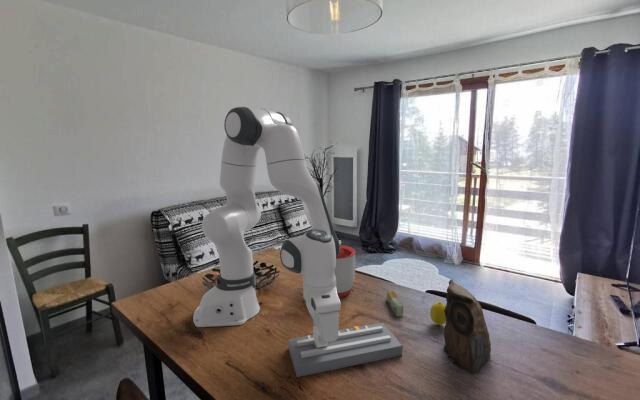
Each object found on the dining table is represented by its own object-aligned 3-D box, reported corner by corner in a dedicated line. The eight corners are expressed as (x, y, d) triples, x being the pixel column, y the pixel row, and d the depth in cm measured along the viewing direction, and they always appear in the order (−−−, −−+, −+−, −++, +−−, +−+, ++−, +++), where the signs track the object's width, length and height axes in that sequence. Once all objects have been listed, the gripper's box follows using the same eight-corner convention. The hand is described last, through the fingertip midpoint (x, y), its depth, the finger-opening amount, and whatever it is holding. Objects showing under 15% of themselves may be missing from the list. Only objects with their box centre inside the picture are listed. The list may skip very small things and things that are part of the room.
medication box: (403, 317, 110) (404, 306, 109) (395, 317, 110) (396, 306, 109) (393, 300, 122) (393, 290, 121) (386, 300, 121) (386, 290, 121)
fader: (317, 351, 87) (316, 334, 86) (313, 342, 90) (313, 326, 90) (327, 349, 87) (327, 332, 87) (323, 340, 91) (323, 324, 90)
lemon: (449, 330, 101) (450, 307, 100) (430, 329, 102) (432, 305, 101) (446, 321, 106) (447, 298, 105) (428, 319, 107) (429, 297, 106)
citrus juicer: (315, 281, 138) (314, 236, 134) (356, 283, 135) (356, 238, 132) (309, 299, 122) (308, 249, 119) (354, 301, 120) (355, 250, 117)
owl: (474, 378, 81) (480, 305, 77) (428, 355, 90) (431, 288, 86) (493, 355, 89) (499, 288, 85) (448, 336, 98) (452, 274, 95)
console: (296, 377, 82) (296, 363, 81) (288, 348, 93) (287, 335, 93) (402, 355, 90) (402, 342, 89) (382, 331, 101) (382, 319, 101)
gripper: (300, 276, 95) (301, 319, 98) (318, 310, 76) (318, 363, 78) (320, 274, 97) (321, 316, 99) (343, 307, 77) (343, 358, 80)
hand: (320, 337), depth 89 cm, fingers closed on fader, 4 cm apart
